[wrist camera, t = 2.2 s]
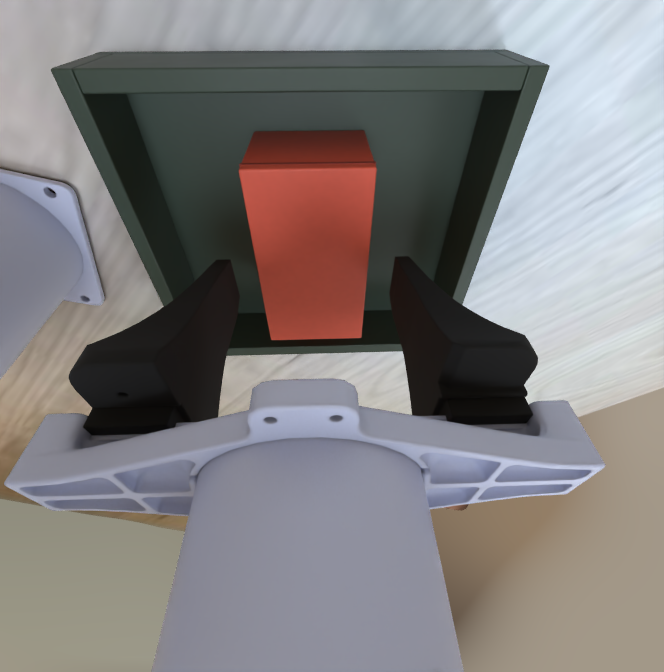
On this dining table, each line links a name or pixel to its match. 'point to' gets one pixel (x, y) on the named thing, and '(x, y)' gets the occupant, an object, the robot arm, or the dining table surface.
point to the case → (310, 229)
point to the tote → (304, 115)
